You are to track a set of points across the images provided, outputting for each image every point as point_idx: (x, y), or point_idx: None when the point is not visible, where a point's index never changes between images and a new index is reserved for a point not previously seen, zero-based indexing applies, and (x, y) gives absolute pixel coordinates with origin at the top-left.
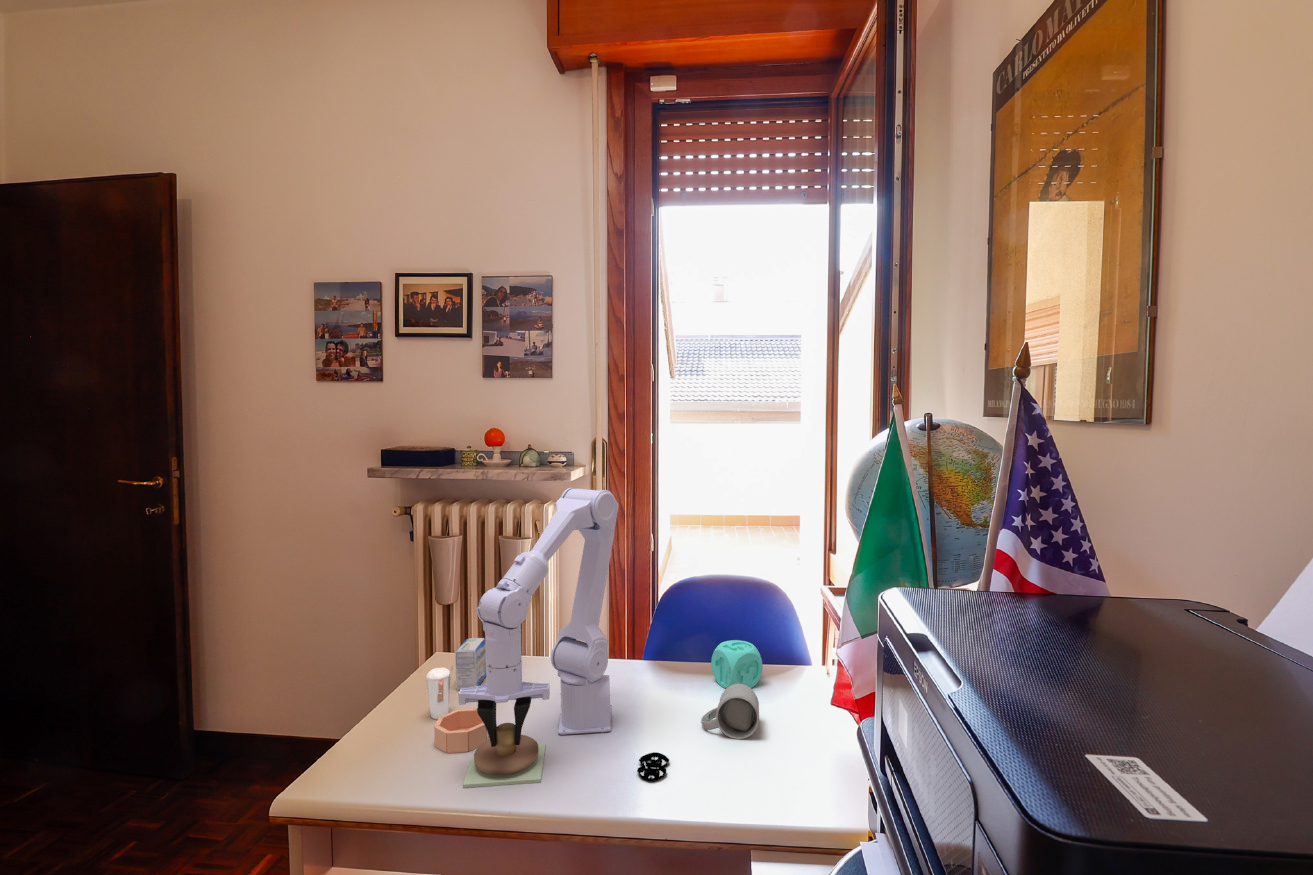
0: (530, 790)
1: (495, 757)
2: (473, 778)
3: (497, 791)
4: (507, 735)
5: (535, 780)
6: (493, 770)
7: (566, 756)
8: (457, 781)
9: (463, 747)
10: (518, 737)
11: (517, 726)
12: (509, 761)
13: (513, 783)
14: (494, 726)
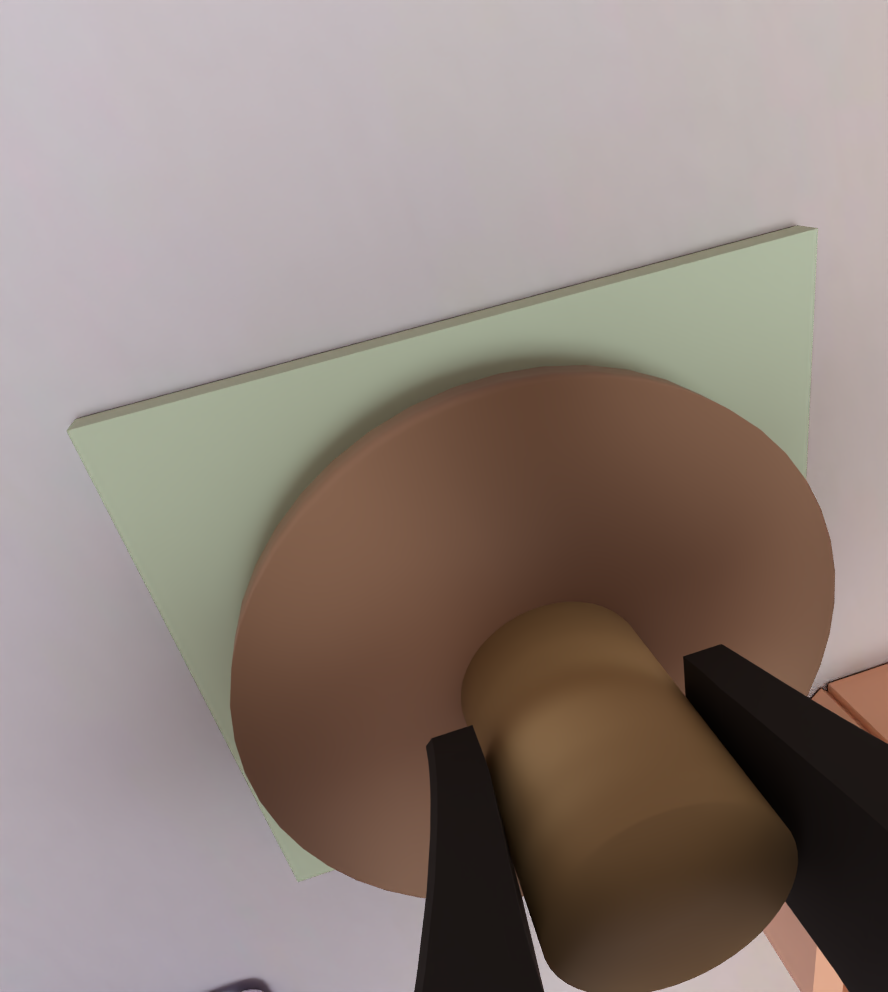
0: (110, 261)
1: (629, 570)
2: (741, 342)
3: (461, 203)
4: (602, 791)
5: (125, 414)
6: (589, 374)
7: (52, 807)
8: (853, 322)
9: (882, 696)
10: (445, 808)
11: (493, 966)
12: (465, 537)
13: (345, 347)
14: (845, 872)
